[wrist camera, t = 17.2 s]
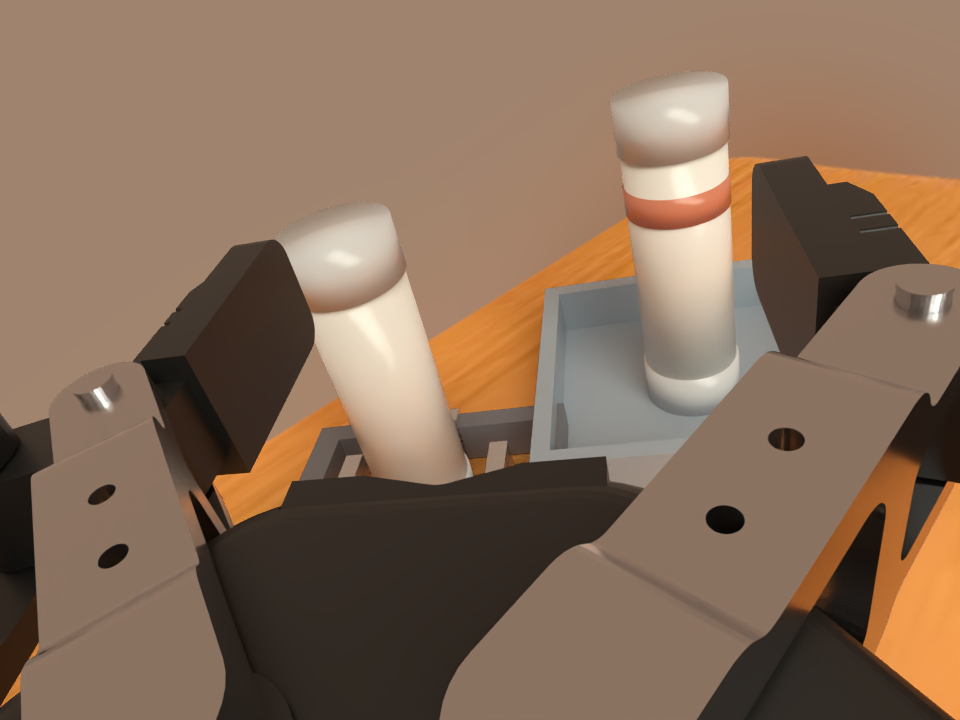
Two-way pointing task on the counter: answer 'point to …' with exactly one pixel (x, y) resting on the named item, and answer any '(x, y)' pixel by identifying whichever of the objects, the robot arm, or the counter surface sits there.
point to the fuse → (375, 342)
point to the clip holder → (477, 433)
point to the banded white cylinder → (681, 234)
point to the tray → (619, 376)
